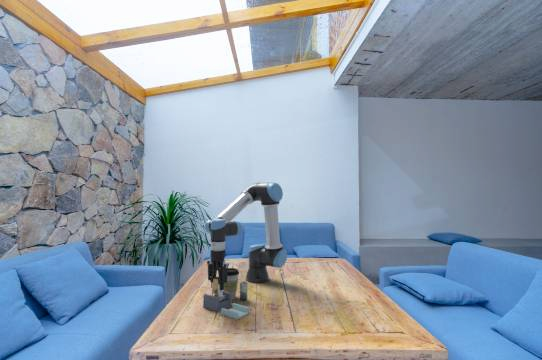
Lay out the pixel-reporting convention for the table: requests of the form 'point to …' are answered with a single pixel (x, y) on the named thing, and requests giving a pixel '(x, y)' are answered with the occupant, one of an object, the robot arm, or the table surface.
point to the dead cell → (243, 291)
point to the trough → (236, 311)
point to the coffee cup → (231, 282)
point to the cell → (215, 286)
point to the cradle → (217, 301)
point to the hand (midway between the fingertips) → (217, 295)
